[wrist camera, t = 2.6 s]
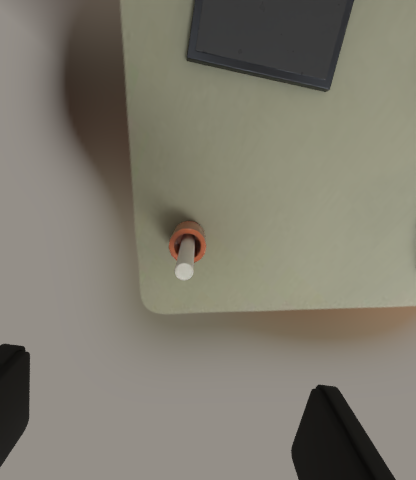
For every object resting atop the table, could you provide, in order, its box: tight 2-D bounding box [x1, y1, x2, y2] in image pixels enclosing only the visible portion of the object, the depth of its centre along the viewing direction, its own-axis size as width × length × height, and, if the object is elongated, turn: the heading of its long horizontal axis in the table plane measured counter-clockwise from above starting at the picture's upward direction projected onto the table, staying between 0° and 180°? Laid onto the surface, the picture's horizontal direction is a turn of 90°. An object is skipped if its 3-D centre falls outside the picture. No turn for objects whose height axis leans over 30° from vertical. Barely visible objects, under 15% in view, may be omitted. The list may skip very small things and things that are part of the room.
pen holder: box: [169, 221, 206, 263], centre depth 28 cm, size 4×4×4 cm
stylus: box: [175, 233, 195, 280], centre depth 24 cm, size 1×1×10 cm
